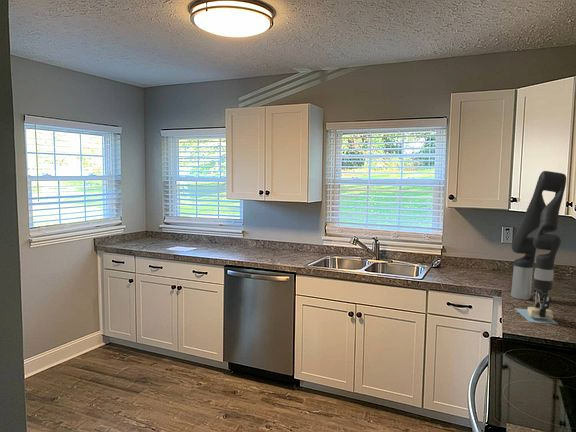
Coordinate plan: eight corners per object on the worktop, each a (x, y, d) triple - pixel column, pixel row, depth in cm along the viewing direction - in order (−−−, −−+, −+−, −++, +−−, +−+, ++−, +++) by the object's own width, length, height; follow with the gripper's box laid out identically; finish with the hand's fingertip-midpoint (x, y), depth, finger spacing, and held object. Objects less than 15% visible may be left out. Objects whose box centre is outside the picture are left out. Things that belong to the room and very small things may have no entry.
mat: (514, 309, 215) (514, 308, 215) (540, 311, 213) (540, 310, 213) (529, 322, 196) (529, 321, 196) (558, 324, 194) (558, 324, 194)
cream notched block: (548, 315, 201) (548, 308, 201) (552, 318, 196) (553, 311, 196) (527, 313, 203) (527, 306, 202) (531, 316, 198) (531, 309, 197)
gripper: (559, 282, 190) (555, 321, 192) (545, 275, 204) (542, 311, 206) (540, 281, 191) (537, 319, 193) (528, 274, 205) (525, 309, 207)
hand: (539, 314), depth 199 cm, fingers closed on cream notched block, 4 cm apart
